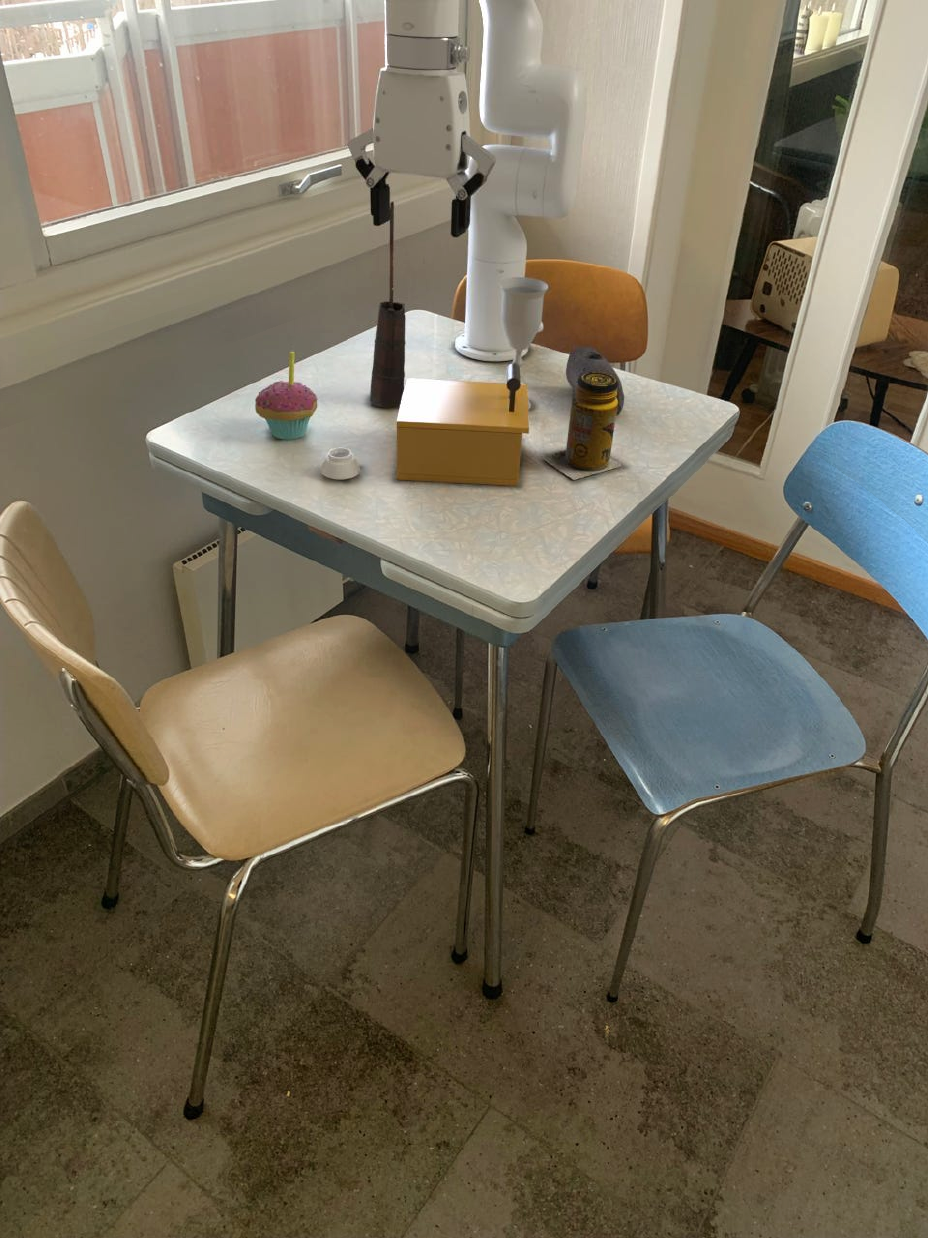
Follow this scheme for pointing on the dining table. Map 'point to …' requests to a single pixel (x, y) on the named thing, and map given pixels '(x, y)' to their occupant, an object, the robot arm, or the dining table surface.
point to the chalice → (521, 312)
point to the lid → (466, 404)
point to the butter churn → (389, 345)
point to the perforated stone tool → (591, 369)
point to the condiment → (589, 428)
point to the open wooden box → (458, 456)
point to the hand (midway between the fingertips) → (419, 228)
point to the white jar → (340, 464)
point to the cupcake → (287, 406)
